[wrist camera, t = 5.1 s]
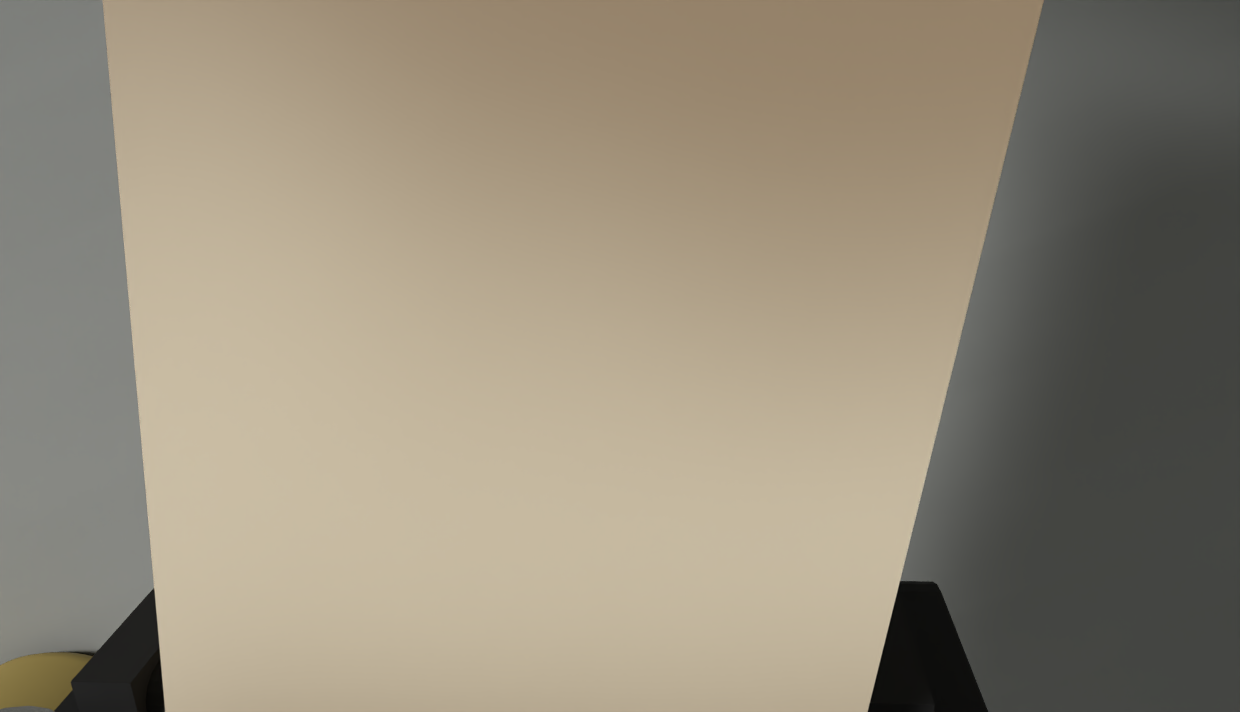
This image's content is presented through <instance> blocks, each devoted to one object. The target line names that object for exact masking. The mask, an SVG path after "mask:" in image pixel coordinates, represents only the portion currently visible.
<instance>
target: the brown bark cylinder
mask: <svg viewBox="0 0 1240 712" xmlns="http://www.w3.org/2000/svg"><path fill="white" fill-rule="evenodd" d="M92 657H93V656H89V655H85V654H79V653H70V652H50V653H41V654H33V655H27V656H23V657H19V658H16V659H13V660H11V661H8V662H6V663H4V664H2V665H0V709H3V708H9V707H20V706H35V707H42V708H49V709H51V710H53V711H54V710H55V709H56V708H57V707H58V706H59V705H60V704H61V702H62V701H63V700H64V699H65V698H66V697H67V696H68V694H69V693H70V692H71V691H72V690H73V689H72V686H71V681H72V679H73V678H74V677H75V676H76V675H77V674H78V673H79V672H80V670H81V669H82V668H83V667H84V666H85V665H86V664H87V663H88V661H89V660H90V659H91V658H92Z"/></svg>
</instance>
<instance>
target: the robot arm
mask: <svg viewBox="0 0 1240 712" xmlns="http://www.w3.org/2000/svg"><path fill="white" fill-rule="evenodd" d="M71 686H72V689H73V690H72V691H71V692H70V693H69V694H68V696H67V697H66V698H65V699H64V700H63V701H62V702H61V704H60V705H59V706H58V707H57V708H56V709H55V710H54V711H53V710H51V709H49V708H42V707H35V706H20V707H9V708H3V709H0V712H165V704H164V692H163V681H162V670H161V658H160V647H159V635H158V624H157V613H156V601H155V590H154V589H153V590H152V591H151V592H150V593H149V594H148V595H147V596H146V598H145V599H144V600H143V601H142V602H141V603H140V604H139V605H138V606H137V608H136V609H135V610H134V611H133V612H132V613H131V614H130V615H129V617H128V618H127V619H126V620H125V621H124V622H123V623H122V624H121V626H120V627H119V628H118V629H117V630H116V631H115V632H114V633H113V635H112V636H111V637H110V638H109V639H108V640H107V641H106V642H105V643H104V645H103V646H102V647H101V648H100V649H99V650H98V651H97V652H96V654H95V655H94V656H93V657H92V658H91V659H90V660H89V661H88V663H87V664H86V665H85V666H84V667H83V668H82V669H81V670H80V672H79V673H78V674H77V675H76V676H75V677H74V678H73V679H72V681H71ZM868 712H988V710H987V708H986V705H985V703H984V700H983V698H982V695H981V692H980V690H979V687H978V685H977V682H976V680H975V677H974V675H973V672H972V670H971V667H970V664H969V662H968V659H967V657H966V654H965V652H964V649H963V647H962V644H961V642H960V639H959V636H958V634H957V631H956V629H955V626H954V624H953V621H952V619H951V616H950V614H949V611H948V608H947V606H946V603H945V601H944V598H943V596H942V593H941V591H940V589H939V587H938V586H937V584H936V583H934V582H916V581H900V583H899V587H898V591H897V595H896V599H895V603H894V607H893V611H892V615H891V619H890V623H889V627H888V631H887V635H886V639H885V643H884V647H883V651H882V655H881V659H880V663H879V667H878V672H877V676H876V680H875V684H874V688H873V692H872V696H871V700H870V704H869V708H868Z"/></svg>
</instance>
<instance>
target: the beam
mask: <svg viewBox="0 0 1240 712" xmlns="http://www.w3.org/2000/svg"><path fill="white" fill-rule="evenodd" d="M1043 2H1044V0H103V9H104V21H105V32H106V43H107V55H108V66H109V78H110V89H111V100H112V112H113V123H114V134H115V146H116V157H117V169H118V180H119V191H120V203H121V214H122V226H123V237H124V248H125V260H126V271H127V282H128V294H129V305H130V317H131V328H132V339H133V351H134V362H135V374H136V385H137V396H138V408H139V419H140V430H141V442H142V453H143V465H144V476H145V487H146V499H147V510H148V522H149V533H150V544H151V556H152V567H153V578H154V590H155V601H156V613H157V624H158V635H159V647H160V658H161V670H162V681H163V692H164V704H165V712H868V708H869V704H870V700H871V696H872V692H873V688H874V684H875V680H876V676H877V672H878V667H879V663H880V659H881V655H882V651H883V647H884V643H885V639H886V635H887V631H888V627H889V623H890V619H891V615H892V611H893V607H894V603H895V599H896V595H897V591H898V587H899V583H900V579H901V575H902V571H903V567H904V563H905V559H906V554H907V550H908V546H909V542H910V538H911V534H912V530H913V526H914V522H915V518H916V514H917V510H918V506H919V502H920V498H921V494H922V490H923V486H924V482H925V478H926V474H927V470H928V466H929V462H930V458H931V454H932V450H933V446H934V442H935V437H936V433H937V429H938V425H939V421H940V417H941V413H942V409H943V405H944V401H945V397H946V393H947V389H948V385H949V381H950V377H951V373H952V369H953V365H954V361H955V357H956V353H957V349H958V345H959V341H960V337H961V333H962V329H963V324H964V320H965V316H966V312H967V308H968V304H969V300H970V296H971V292H972V288H973V284H974V280H975V276H976V272H977V268H978V264H979V260H980V256H981V252H982V248H983V244H984V240H985V236H986V232H987V228H988V224H989V220H990V216H991V212H992V207H993V203H994V199H995V195H996V191H997V187H998V183H999V179H1000V175H1001V171H1002V167H1003V163H1004V159H1005V155H1006V151H1007V147H1008V143H1009V139H1010V135H1011V131H1012V127H1013V123H1014V119H1015V115H1016V111H1017V107H1018V103H1019V99H1020V95H1021V90H1022V86H1023V82H1024V78H1025V74H1026V70H1027V66H1028V62H1029V58H1030V54H1031V50H1032V46H1033V42H1034V38H1035V34H1036V30H1037V26H1038V22H1039V18H1040V14H1041V10H1042V6H1043Z"/></svg>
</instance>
